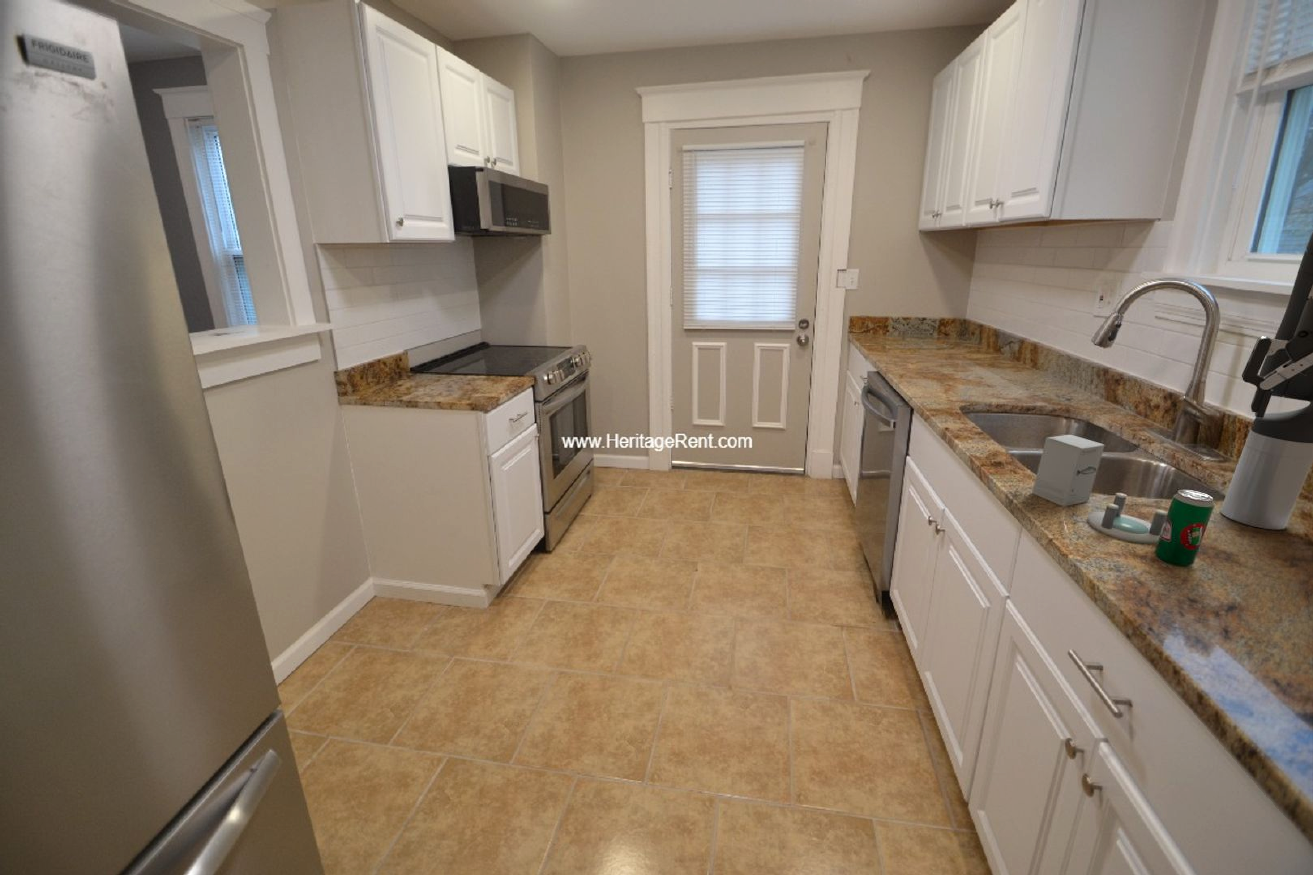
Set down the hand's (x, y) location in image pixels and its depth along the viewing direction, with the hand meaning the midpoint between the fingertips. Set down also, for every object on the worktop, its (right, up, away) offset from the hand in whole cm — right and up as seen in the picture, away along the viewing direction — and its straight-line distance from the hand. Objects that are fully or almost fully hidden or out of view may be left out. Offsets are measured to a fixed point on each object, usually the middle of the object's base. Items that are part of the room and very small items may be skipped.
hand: (1303, 422), depth 76 cm
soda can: (+2, -23, +22) cm, 31 cm away
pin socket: (+2, -19, +32) cm, 37 cm away
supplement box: (-1, -15, +45) cm, 47 cm away
